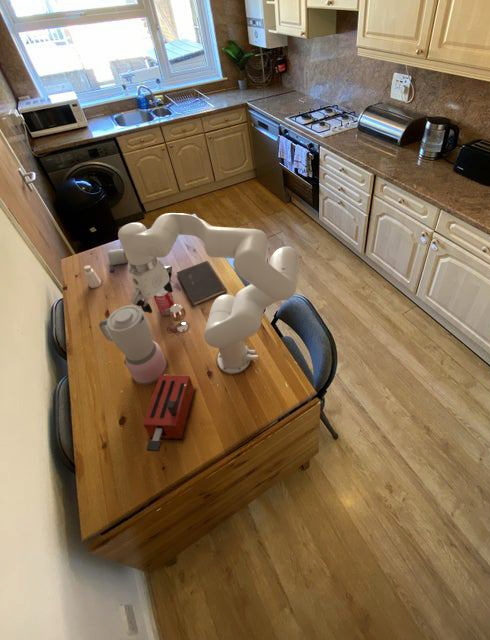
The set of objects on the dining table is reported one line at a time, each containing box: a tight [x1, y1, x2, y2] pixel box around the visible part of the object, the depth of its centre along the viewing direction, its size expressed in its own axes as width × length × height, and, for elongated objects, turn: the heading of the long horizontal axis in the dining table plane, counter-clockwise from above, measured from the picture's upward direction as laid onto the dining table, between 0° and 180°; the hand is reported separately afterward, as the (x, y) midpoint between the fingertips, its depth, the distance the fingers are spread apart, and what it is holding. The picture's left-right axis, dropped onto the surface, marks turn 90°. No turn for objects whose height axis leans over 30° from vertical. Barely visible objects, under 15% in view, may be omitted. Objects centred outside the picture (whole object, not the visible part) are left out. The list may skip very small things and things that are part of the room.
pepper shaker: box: [83, 264, 102, 289], centre depth 160 cm, size 5×5×11 cm
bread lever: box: [145, 428, 163, 452], centre depth 100 cm, size 4×6×1 cm, turn 178°
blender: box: [98, 304, 168, 386], centre depth 117 cm, size 16×12×32 cm
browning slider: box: [167, 401, 178, 415], centre depth 103 cm, size 2×2×4 cm
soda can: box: [153, 287, 176, 316], centre depth 146 cm, size 7×7×12 cm
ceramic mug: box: [107, 248, 129, 266], centre depth 175 cm, size 11×8×8 cm
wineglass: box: [169, 303, 189, 333], centre depth 139 cm, size 6×6×12 cm
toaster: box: [142, 374, 196, 441], centre depth 111 cm, size 10×16×10 cm, turn 177°
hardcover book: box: [176, 260, 228, 307], centre depth 161 cm, size 16×23×2 cm
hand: (158, 300), depth 112 cm, fingers open, 9 cm apart
